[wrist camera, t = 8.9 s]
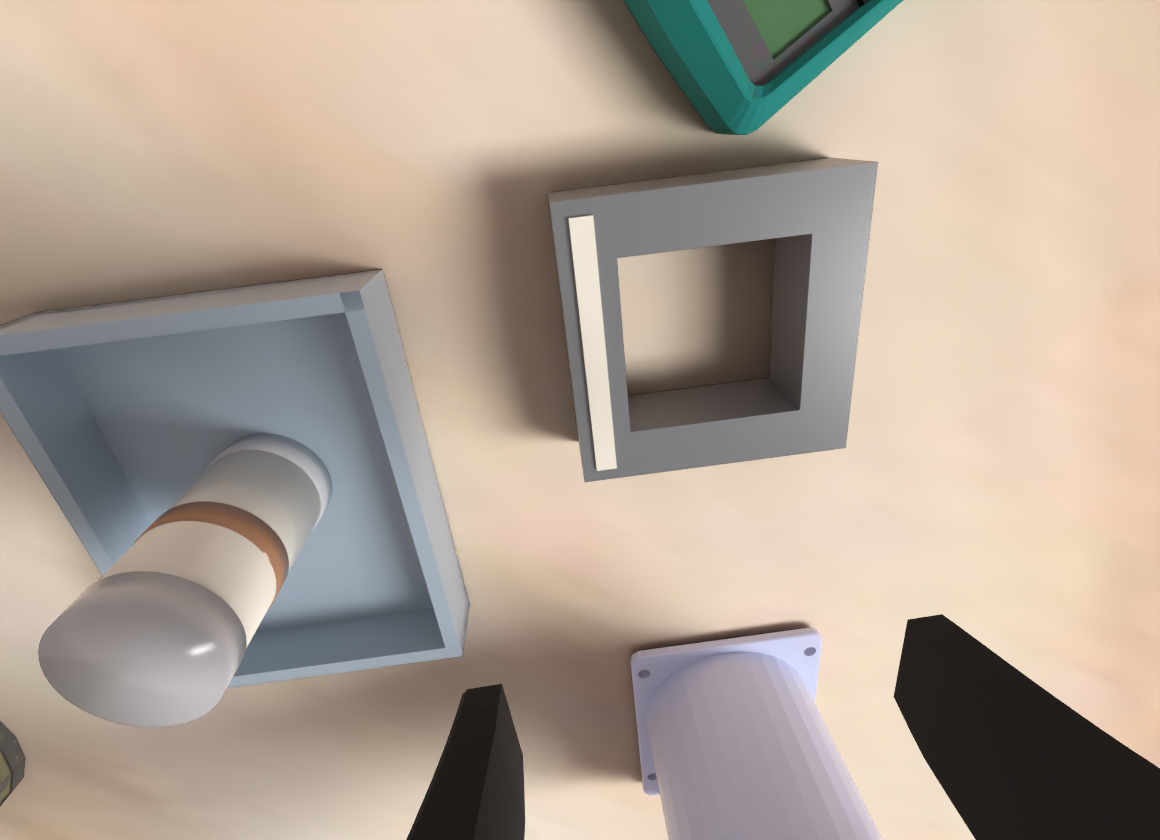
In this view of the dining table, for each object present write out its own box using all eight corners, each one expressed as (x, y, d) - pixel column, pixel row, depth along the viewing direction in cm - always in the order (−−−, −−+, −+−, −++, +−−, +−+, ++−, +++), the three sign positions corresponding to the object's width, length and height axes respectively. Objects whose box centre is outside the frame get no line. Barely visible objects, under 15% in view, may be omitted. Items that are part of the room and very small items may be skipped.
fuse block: (810, 412, 20) (847, 449, 18) (578, 442, 20) (584, 483, 17) (830, 157, 16) (880, 162, 14) (547, 192, 16) (549, 203, 14)
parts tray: (469, 604, 23) (462, 656, 20) (212, 638, 22) (176, 695, 20) (382, 269, 17) (359, 290, 15) (33, 312, 17) (-44, 340, 14)
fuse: (341, 524, 20) (245, 721, 13) (232, 530, 20) (77, 733, 13) (320, 430, 18) (198, 599, 12) (201, 435, 18) (7, 610, 11)
